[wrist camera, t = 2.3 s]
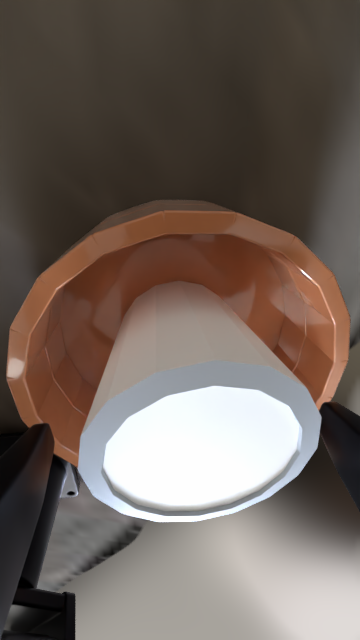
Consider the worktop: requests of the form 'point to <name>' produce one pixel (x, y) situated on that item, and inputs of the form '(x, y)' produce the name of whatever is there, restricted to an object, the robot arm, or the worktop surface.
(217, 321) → the shot glass
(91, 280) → the bowl
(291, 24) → the worktop surface
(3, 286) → the worktop surface
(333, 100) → the worktop surface
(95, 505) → the worktop surface
